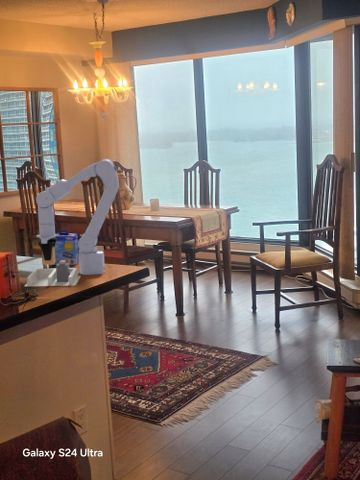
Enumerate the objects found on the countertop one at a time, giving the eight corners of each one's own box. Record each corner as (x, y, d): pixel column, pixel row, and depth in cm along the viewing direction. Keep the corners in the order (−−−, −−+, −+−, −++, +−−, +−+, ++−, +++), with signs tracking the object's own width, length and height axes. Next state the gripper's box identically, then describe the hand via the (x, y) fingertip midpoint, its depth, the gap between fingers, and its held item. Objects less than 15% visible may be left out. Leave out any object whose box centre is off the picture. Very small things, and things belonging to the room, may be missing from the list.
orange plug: (55, 262, 242) (54, 243, 240) (53, 264, 238) (52, 245, 236) (44, 262, 241) (43, 243, 240) (42, 264, 238) (41, 245, 236)
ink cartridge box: (52, 265, 258) (50, 230, 255) (55, 262, 263) (53, 227, 260) (76, 265, 257) (74, 229, 254) (79, 262, 263) (77, 227, 260)
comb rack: (81, 277, 236) (80, 267, 235) (75, 287, 222) (75, 276, 221) (32, 278, 235) (31, 268, 235) (24, 288, 222) (23, 278, 221)
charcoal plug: (69, 279, 231) (68, 259, 229) (68, 281, 227) (67, 262, 225) (58, 279, 230) (57, 260, 229) (56, 282, 227) (55, 262, 225)
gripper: (39, 220, 244) (42, 255, 246) (31, 226, 230) (34, 263, 232) (58, 220, 244) (60, 254, 246) (51, 226, 230) (53, 262, 232)
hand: (48, 259), depth 239 cm, fingers closed on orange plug, 4 cm apart
